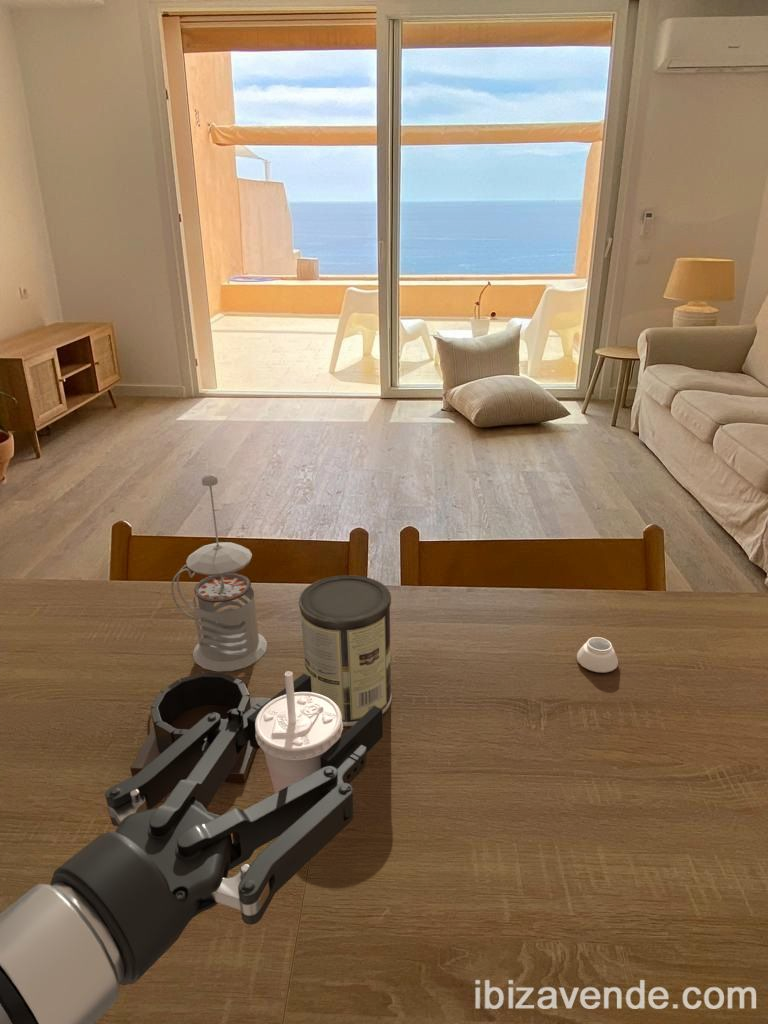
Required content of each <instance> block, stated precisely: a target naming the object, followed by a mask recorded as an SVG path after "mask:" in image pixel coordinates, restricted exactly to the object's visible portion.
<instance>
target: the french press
mask: <svg viewBox="0 0 768 1024" xmlns="http://www.w3.org/2000/svg"><path fill="white" fill-rule="evenodd" d="M218 483H219V481H218V477H217V476H216V475H215V474H214V473H205V474H204V475H203V476H202V477H201V484H202V486H205V487H209V492H210V502H211V509H212V516H213V524H214V525H213V526H214V532H215V541H216V542H214V543H209V544H206V545H202V546H200V547H199V548H198V549H196V550H195V551H193V552H192V553H190V554H189V555H188V556H187V559H186V561H185V563H186V564H184V565H183V566H182V567H181V568H180V569H179V571H178V572H177V573H176V574H175V575H174V576H173V579H172V581H171V584H170V585H171V586H170V590H171V597H172V600H173V602H174V604H175V605H176V608H177V609H178V610H179V611H180V612H182V613H183V614H184V615H185V616H187V617H189V618H191V619H192V620H194V621H195V627H196V634H197V640H198V643H197V644H196V645H195V646H194V649H193V652H192V658H193V660H194V662H195V664H197V665H198V666H200V667H201V668H203V669H205V670H208V671H212V672H215V673H218V672H233V671H237V670H241V669H246V668H247V667H249V666H251V665H253V664H254V663H256V662H258V661H260V659H262V657H263V656H264V655H265V653H267V652H266V651H267V649H268V642H267V640H266V639H265V637H264V636H263V635H262V634H260V633H259V630H258V628H259V627H258V618H257V610H256V609H257V608H256V601H255V599H256V598H255V592H254V590H253V588H252V586H251V585H252V581H251V580H250V578H249V577H247V576H245V575H243V574H240V573H237V572H238V571H241V570H243V569H245V568H246V567H247V566H248V565H249V564H250V562H251V560H252V556H253V554H252V551H251V550H250V549H249V548H247V547H245V546H243V545H240V544H238V543H234V542H230V541H229V542H227V541H225V542H224V541H222V542H221V541H220V542H219V536H218V528H217V520H216V512H215V511H216V510H215V504H214V503H215V502H214V495H213V488H212V486H216V485H218ZM186 567H187V568H186ZM183 572H187V573H188V576H189V578H191V579H192V578H193V577H194V576H195V575H196V574H197V575H202V576H203V575H204V576H206V577H204V578H202V579H201V580H200V581H199V582H197V583H196V584H195V587H194V589H193V592H194V595H195V596H194V597H193V600H192V602H193V606H192V605H191V604H190V603H188V602H187V601H186V599H185V598H184V596H183V594H182V592H181V589H180V577H181V574H182V573H183ZM192 572H193V573H192ZM175 582H176V587H177V592H178V594H179V596H180V599H182V601H183V603H184V604H185V605H186V606H187V607H188V608H189V609H191V610H193V611H194V616H193V615H191V614H190V613H188V612H186V611H184V609H182V608H181V607H180V605H179V604H178V602H177V599H176V597H175V596H176V595H175V592H174V585H175ZM244 596H245V597H246V598H247V599H249V601H248V600H247V599H245V598H244ZM196 597H197V601H198V606H197V601H196ZM237 599H238V600H240V601H241V602H242V603H244V605H243V604H242V603H241V602H239V601H236V600H237ZM215 603H218V604H217V605H215ZM227 606H236V607H238V608H231V607H230V608H227V609H224V610H221V611H219V612H217V611H218V610H220V609H221V608H224V607H227ZM199 618H200V620H199ZM201 636H203V637H201Z"/></svg>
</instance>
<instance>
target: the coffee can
mask: <svg viewBox="0 0 768 1024" xmlns="http://www.w3.org/2000/svg"><path fill="white" fill-rule="evenodd" d="M391 604H392V595H391V592H390V590H389V588H388V587H387V586H386V585H385V584H383V582H380V581H379V580H376V579H374V578H371V577H367V576H362V575H353V574H346V575H335V576H329V577H325V578H322V579H319V580H316V581H315V582H313V583H311V584H309V585H308V586H307V587H305V588H304V589H303V590H302V592H301V593H300V595H299V598H298V605H299V610H300V618H301V619H300V620H301V631H302V644H303V645H302V646H303V656H304V670H305V674H306V675H308V676H311V689H312V693H317V694H320V695H323V696H325V697H327V698H329V699H331V700H332V701H333V702H334V703H335V704H336V705H337V706H338V708H339V709H340V712H341V717H342V725H343V727H352V726H353V725H354V724H355V723H356V722H357V721H359V720H360V719H361V718H362V717H363V716H364V715H365V714H366V713H367V712H368V711H369V710H370V709H371V708H372V707H373V706H376V707H379V708H381V709H382V715H384V714H385V713H386V712H387V710H388V709H389V707H390V706H391V703H392V701H393V700H392V699H393V694H392V676H391V675H392V672H391V671H392V670H391V668H392V667H391V662H392V661H391Z"/></svg>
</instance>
